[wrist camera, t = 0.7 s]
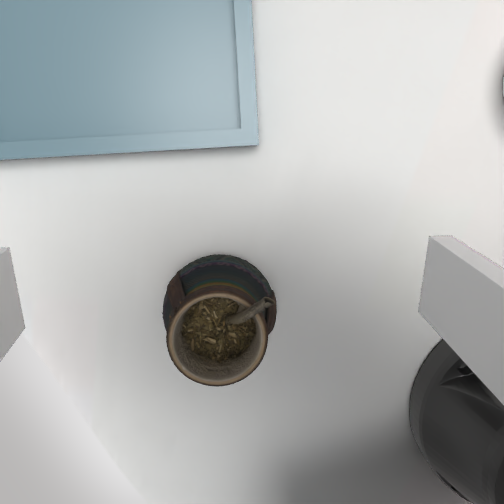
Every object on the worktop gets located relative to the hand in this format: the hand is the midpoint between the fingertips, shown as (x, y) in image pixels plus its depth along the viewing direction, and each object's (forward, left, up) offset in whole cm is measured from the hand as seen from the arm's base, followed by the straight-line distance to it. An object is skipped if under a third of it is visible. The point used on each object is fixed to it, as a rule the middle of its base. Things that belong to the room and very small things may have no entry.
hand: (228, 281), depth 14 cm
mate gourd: (-6, +1, -17) cm, 18 cm away
